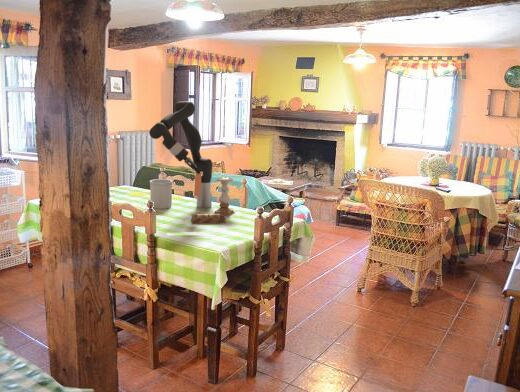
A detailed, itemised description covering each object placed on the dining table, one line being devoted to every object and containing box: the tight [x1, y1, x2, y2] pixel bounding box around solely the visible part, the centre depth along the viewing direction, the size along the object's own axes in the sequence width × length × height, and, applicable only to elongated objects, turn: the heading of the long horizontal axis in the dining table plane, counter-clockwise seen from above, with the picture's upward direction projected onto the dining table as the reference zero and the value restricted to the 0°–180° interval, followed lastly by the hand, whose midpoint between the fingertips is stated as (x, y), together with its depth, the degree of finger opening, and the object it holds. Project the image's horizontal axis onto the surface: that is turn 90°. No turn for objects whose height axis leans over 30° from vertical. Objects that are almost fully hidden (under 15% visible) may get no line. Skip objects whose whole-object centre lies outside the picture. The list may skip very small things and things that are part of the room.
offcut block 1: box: [197, 213, 209, 218], centre depth 274 cm, size 6×3×4 cm, turn 101°
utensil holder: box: [149, 178, 173, 210], centre depth 314 cm, size 15×15×18 cm
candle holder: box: [213, 177, 236, 217], centre depth 295 cm, size 11×11×24 cm
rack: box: [190, 213, 227, 225], centre depth 277 cm, size 20×11×4 cm, turn 101°
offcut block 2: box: [208, 213, 220, 218], centre depth 275 cm, size 6×3×4 cm, turn 101°
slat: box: [193, 171, 203, 197], centre depth 276 cm, size 4×2×14 cm, turn 101°
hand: (199, 172), depth 275 cm, fingers closed on slat, 1 cm apart
